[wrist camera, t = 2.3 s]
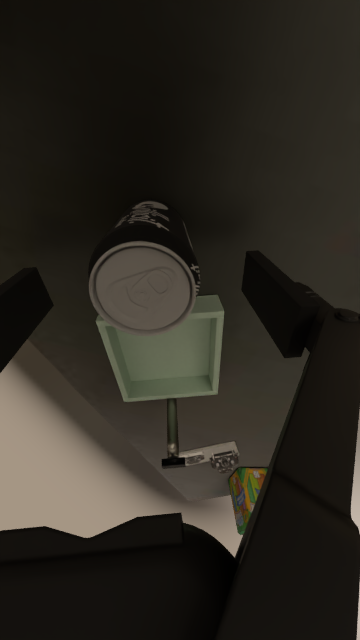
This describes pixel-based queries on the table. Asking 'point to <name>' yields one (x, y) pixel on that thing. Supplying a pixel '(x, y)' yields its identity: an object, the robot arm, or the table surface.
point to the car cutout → (214, 456)
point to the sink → (169, 356)
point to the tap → (172, 438)
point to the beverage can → (145, 271)
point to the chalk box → (245, 493)
